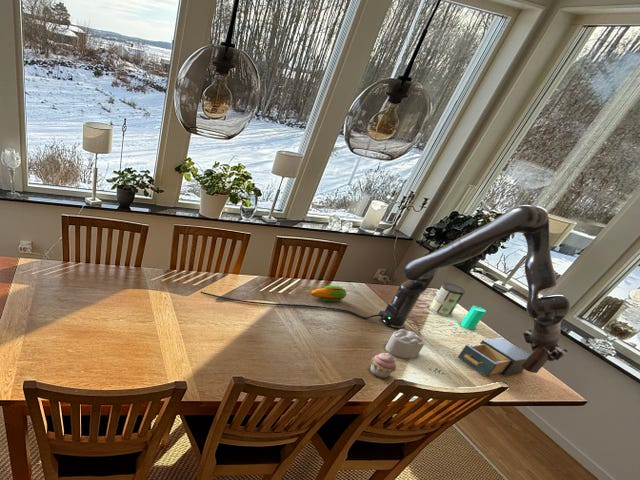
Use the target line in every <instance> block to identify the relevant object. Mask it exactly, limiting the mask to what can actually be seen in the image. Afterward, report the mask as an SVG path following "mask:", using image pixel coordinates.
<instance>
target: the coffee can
mask: <svg viewBox="0 0 640 480" xmlns="http://www.w3.org/2000/svg"><path fill="white" fill-rule="evenodd" d="M465 293H466V290H465V289H464V288H462V287H461V286H459V285H456V284H453V283H450V282H449V283H448V282H444V283H442V284H441V287H440V288H439V290H438V292H437V294H436V295H435V297H434V298H433V301H432V302H431V304H430V306H429V307H428V308H429V310H430V311H432V312H434V313H435V314H437V315H438V316H439V315H440V316H442V317H443V316H444V317H450V316H451V315H452V313H453V311H455V308H456V307H457V305H458V304H459V302H460V301H461V299H462V297H463V295H464V294H465Z"/></svg>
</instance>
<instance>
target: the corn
mask: <svg viewBox="0 0 640 480" xmlns="http://www.w3.org/2000/svg"><path fill="white" fill-rule="evenodd" d="M310 295H311V296H312V297H315V298H318V299H317V301H321V302H340V301H342V300H343V299H344V298H345V297H347V291H346V290H345V289H344V288H343V287H342V286H338V285H324V286H322V288H316V289H313V290H311V292H310Z"/></svg>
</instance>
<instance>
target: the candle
mask: <svg viewBox="0 0 640 480" xmlns="http://www.w3.org/2000/svg"><path fill="white" fill-rule="evenodd" d="M486 313H487V310H486V309H484V308H482V306H476V305H472V306H471V308H470V309H469V311H467V313H466V315H465V316H464V318H463V320H462V321H461V322H460V326H462V328H464V329H467V330H469V331H470V330H471V331H472V330H475V328H476V327H477V326H478V324H479V323H480V321H481V320H482V318H483V317H484V316H485V314H486Z"/></svg>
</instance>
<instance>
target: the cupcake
mask: <svg viewBox="0 0 640 480" xmlns="http://www.w3.org/2000/svg"><path fill="white" fill-rule="evenodd" d="M370 361H371V365H370V373H371V374H372V375H374V376H375V377H377V378H381V379H385V378H387V377H388V376H389V375H391V374H392V373H393V372H395V371H397V366H396V360H395V358H394V355H393V354H391V353H389V352H381V353H378V354H376V355H374V357H373V356H372V357H371V360H370Z"/></svg>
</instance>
